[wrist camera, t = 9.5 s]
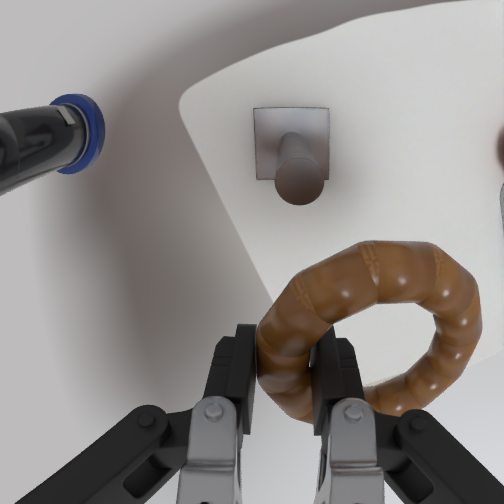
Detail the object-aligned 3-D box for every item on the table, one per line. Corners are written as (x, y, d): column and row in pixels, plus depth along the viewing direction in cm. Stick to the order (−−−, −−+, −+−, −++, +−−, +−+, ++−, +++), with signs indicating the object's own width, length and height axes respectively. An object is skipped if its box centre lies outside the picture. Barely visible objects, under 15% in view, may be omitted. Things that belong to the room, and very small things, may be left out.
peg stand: (257, 176, 36) (228, 250, 18) (254, 108, 32) (219, 108, 15) (327, 177, 35) (366, 251, 17) (327, 108, 31) (375, 109, 14)
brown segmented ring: (259, 405, 14) (256, 438, 12) (255, 228, 10) (250, 257, 8) (430, 394, 13) (440, 423, 12) (492, 235, 9) (520, 259, 8)
